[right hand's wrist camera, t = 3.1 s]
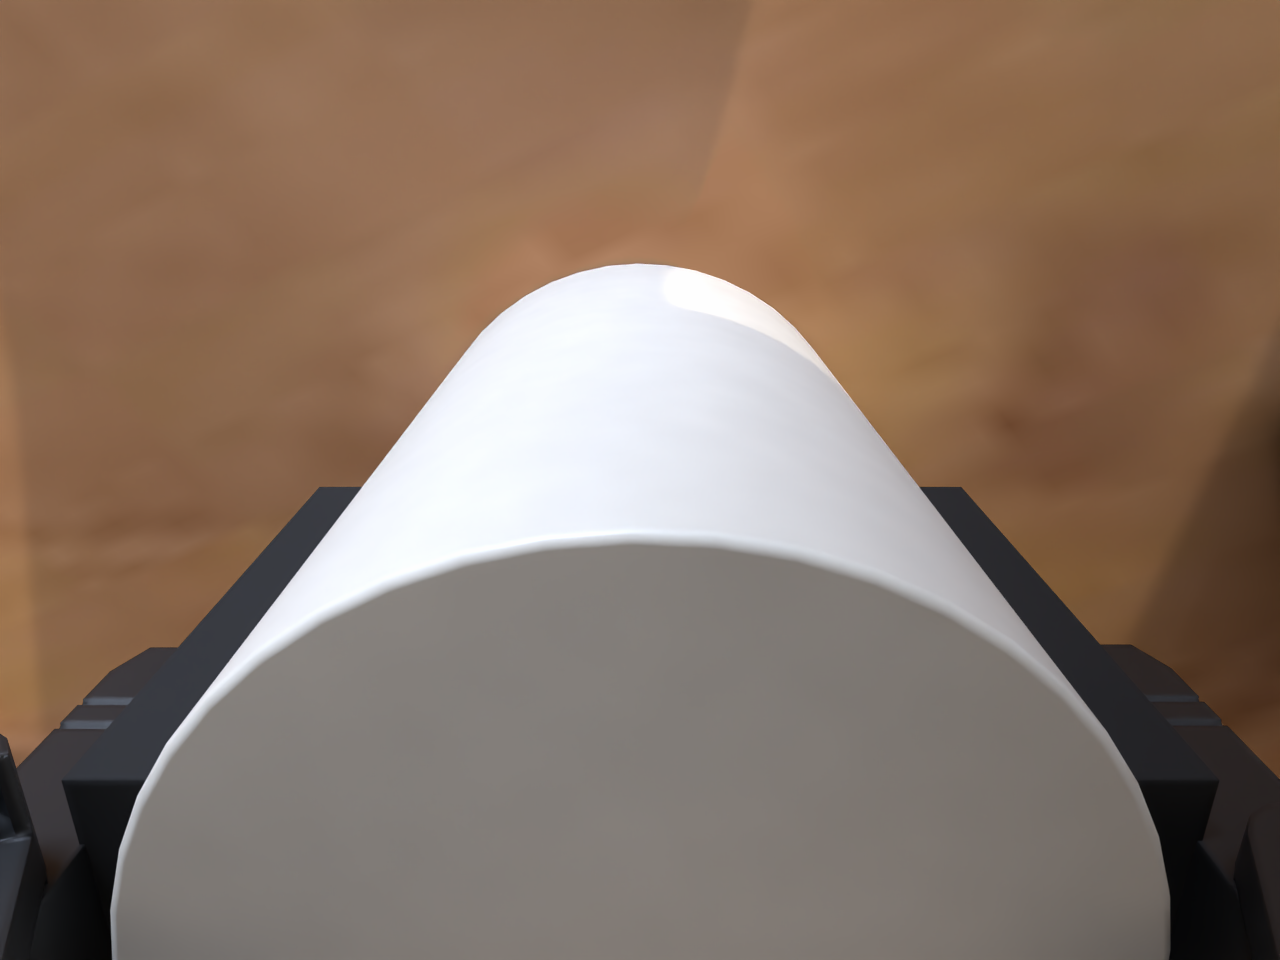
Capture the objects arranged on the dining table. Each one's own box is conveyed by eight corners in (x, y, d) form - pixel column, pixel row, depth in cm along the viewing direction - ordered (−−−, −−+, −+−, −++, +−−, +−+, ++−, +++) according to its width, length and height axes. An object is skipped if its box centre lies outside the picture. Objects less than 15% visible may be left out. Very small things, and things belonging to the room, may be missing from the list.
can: (368, 333, 17) (-117, 705, 6) (799, 207, 16) (1129, 380, 5) (510, 691, 20) (352, 1381, 9) (883, 600, 19) (1207, 1237, 8)
